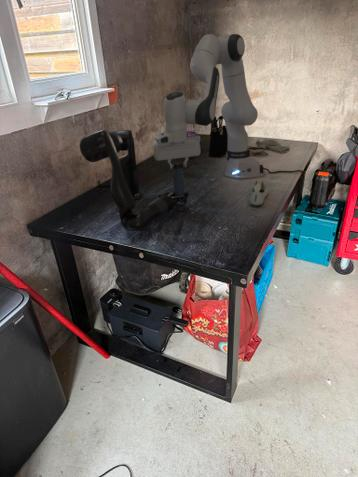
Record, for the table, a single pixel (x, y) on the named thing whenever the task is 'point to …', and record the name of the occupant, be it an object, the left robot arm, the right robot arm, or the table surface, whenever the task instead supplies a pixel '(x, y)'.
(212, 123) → the boot
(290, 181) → the table surface
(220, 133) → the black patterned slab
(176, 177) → the bottle
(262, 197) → the ballet flat
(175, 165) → the cap
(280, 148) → the pair of gloves
